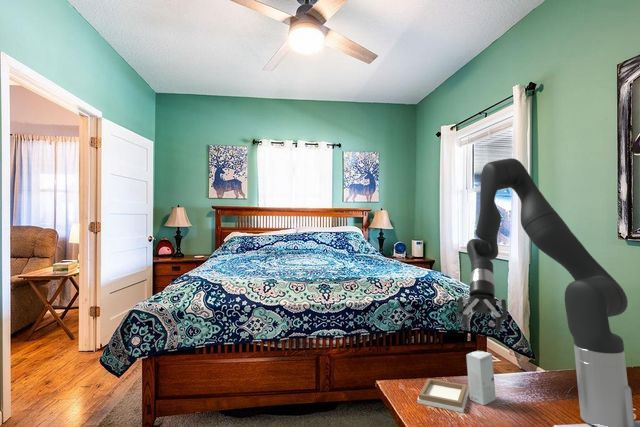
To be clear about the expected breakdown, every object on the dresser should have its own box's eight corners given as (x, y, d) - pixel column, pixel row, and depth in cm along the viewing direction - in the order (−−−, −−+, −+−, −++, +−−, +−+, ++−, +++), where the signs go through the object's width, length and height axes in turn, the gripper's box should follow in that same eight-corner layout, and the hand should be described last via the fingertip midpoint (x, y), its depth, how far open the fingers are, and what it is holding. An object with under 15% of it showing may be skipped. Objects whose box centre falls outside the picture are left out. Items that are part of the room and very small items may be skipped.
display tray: (468, 392, 95) (468, 384, 95) (463, 412, 85) (462, 403, 85) (427, 385, 101) (426, 377, 101) (417, 403, 91) (417, 394, 91)
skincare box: (484, 406, 88) (480, 358, 88) (468, 399, 91) (465, 354, 92) (496, 399, 91) (493, 353, 92) (481, 393, 95) (478, 349, 95)
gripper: (457, 278, 114) (454, 320, 103) (505, 279, 107) (507, 324, 96) (460, 291, 118) (458, 333, 108) (506, 293, 111) (509, 338, 101)
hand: (481, 329), depth 102 cm, fingers open, 8 cm apart
